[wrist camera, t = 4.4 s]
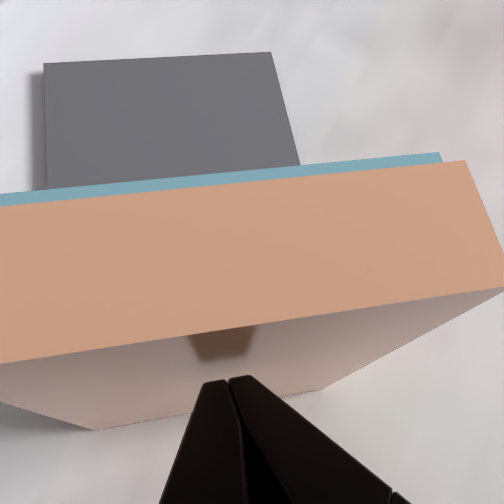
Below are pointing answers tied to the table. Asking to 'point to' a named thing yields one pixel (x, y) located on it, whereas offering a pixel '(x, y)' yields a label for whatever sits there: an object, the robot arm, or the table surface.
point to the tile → (231, 281)
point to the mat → (163, 118)
